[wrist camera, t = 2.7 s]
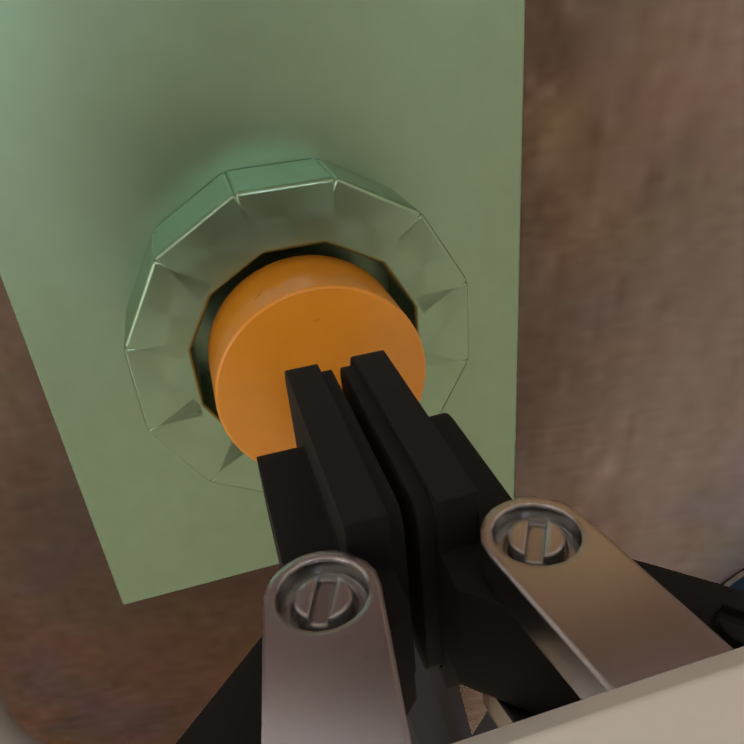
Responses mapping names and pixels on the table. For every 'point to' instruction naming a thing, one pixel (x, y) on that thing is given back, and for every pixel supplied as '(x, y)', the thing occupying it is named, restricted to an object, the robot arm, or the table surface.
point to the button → (299, 341)
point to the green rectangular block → (247, 229)
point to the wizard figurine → (439, 711)
